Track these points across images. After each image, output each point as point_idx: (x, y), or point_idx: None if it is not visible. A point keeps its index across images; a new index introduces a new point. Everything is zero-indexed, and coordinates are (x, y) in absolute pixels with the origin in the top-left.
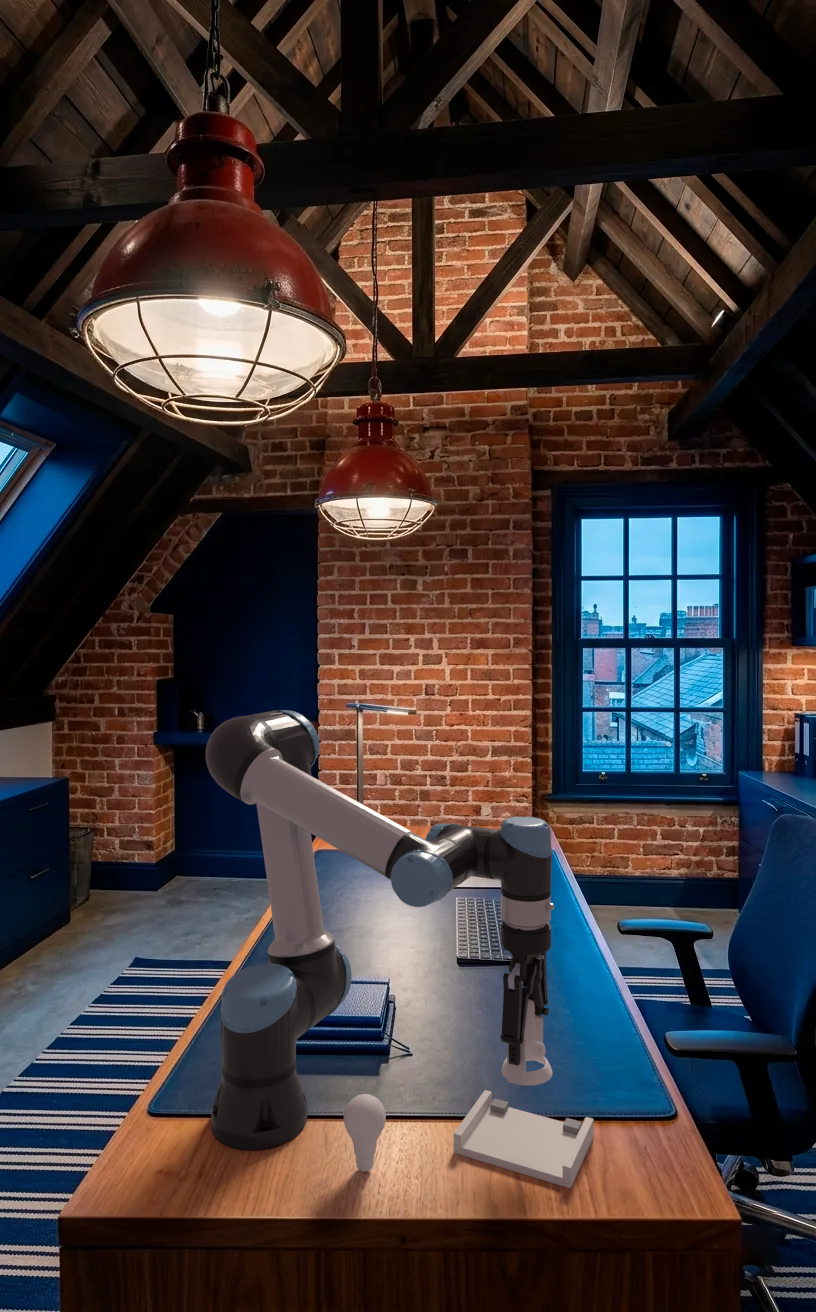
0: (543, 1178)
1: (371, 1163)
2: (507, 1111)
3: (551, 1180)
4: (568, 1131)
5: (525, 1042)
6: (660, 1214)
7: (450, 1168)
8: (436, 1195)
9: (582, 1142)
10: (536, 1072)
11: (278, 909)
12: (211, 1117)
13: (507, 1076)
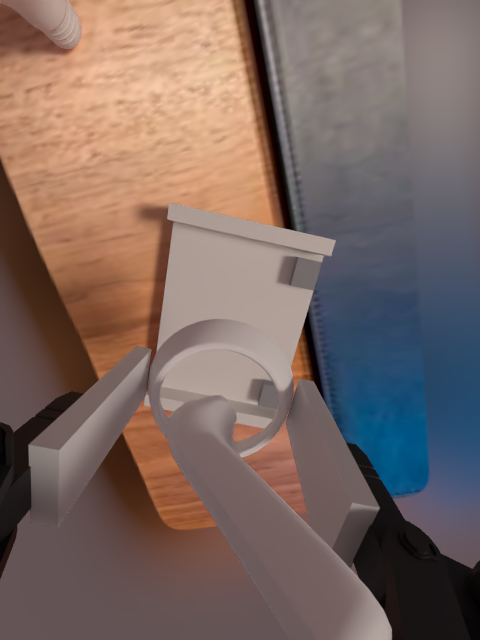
0: None
1: (52, 39)
2: (300, 288)
3: None
4: (261, 387)
5: (50, 521)
6: (146, 477)
7: (138, 211)
8: (66, 202)
9: None
10: (165, 434)
11: None
12: None
13: (128, 354)
